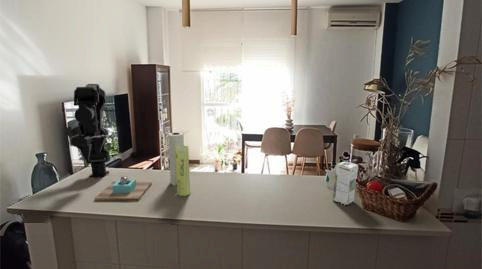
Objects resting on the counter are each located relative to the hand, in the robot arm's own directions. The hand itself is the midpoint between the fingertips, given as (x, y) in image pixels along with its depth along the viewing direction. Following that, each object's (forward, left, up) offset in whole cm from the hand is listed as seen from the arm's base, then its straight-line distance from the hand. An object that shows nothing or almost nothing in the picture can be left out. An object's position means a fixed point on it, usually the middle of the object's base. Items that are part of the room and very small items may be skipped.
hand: (92, 157), depth 119 cm
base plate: (+7, +15, -12) cm, 20 cm away
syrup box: (+14, +98, -12) cm, 100 cm away
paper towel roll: (-3, +33, -12) cm, 35 cm away
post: (+7, +15, -11) cm, 20 cm away
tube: (+8, +38, -12) cm, 41 cm away
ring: (+7, +15, -11) cm, 20 cm away
